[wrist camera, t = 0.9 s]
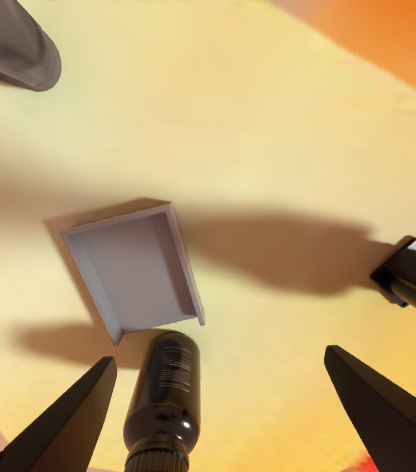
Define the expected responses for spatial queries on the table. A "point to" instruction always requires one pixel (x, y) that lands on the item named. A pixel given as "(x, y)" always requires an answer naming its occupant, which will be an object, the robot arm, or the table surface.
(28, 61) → the beverage cup
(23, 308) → the table surface
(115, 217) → the tray
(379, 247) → the table surface
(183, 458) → the supplement bottle
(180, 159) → the table surface
